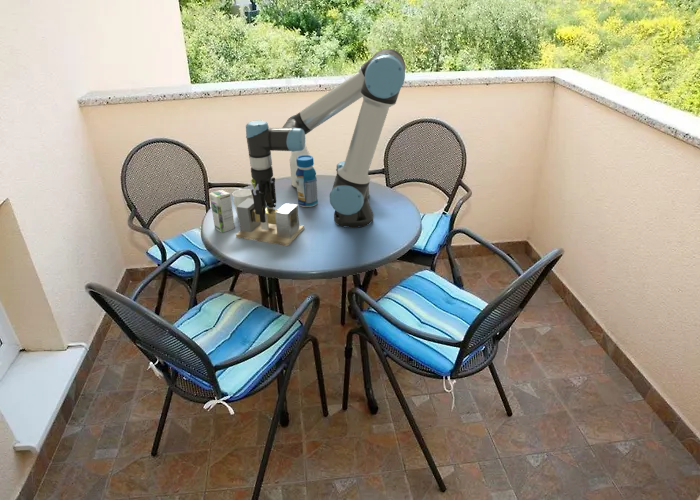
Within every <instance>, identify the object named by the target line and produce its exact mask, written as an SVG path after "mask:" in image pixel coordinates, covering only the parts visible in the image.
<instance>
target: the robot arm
mask: <svg viewBox="0 0 700 500" xmlns="http://www.w3.org/2000/svg"><path fill="white" fill-rule="evenodd" d="M405 78H406V63H405V59H404V57H403V56H402V55H401V54H400V53H399V52H398V51H397V50H394V49H391V48H383V49H381V50H379V51H377V52H376V53H375V54H374V55H373V56H372V57H371V58H369V59H368V60H367V61H366V62H364V64H362V65H360V66H359V69H358V71H357V72H356V73H355V74H353V75H351V76H350V77H349V78H347V79H345V80H344V81H343V82H341V83H340V84H338V85H337V86H335V87H334V88H332V89H331V90H329V91H328V92H327V93H325V94H324V95H322V96H321V97H319V98H318V99H316V100H315V101H313V102H312V103H311V104H309V105H308V106H306V107H305V108H304V109H302V110H300V112H298V113H296V114H294V115H291V116H290V117H289V118H288V119H287V120H286V122H285V123H284V124H283V126H282V127H270V126H269V125H268V122H267V121H266V120H261V119H260V120H252V121H249V122H247V123H246V125H245V132H246V134H245V135H246V137H245V138H246V143H247V149H248V150H247V151H248V159H249V165H250V166H249V167H250V174H251V179H254V180H255V189H254V188H253V189H250V190H251V193H252V195H253V200H254V207H255V213H256V214H258V215H260V222H261V229H264V230H269V225H268V224H269V223H268V216H267V213H266V208H269V209H274V208H276V207H277V205H276V204H277V195H276V185H275V184H276V178H275V177H274V169H273V161H272V152H274V151H276V152H278V151H280V152H281V151H282V152H292V151H293V152H294V151H302V150H303V149H304V147H305V144H306V135H307V134H309V133H310V132H312V131H313V130H314V129H316V128H317V127H319V126H320V125H322V124H323V123H325V122H327V121H328V120H329V119H331V118H333V117H334V116H335V115H337V114H338V113H340V112H341V111H344V110H345V109H346V108H348V107H349V106H350V105H352V104H354V103H355V102H357V101H359V100H360V99H362V103H361V106H360V110H359V113H358V116H357V119H356V123H355V126H354V130H353V134H352V137H351V139H350V143H349V147H348V150H347V153H346V156H345V160H344V161H340V162H338V163H337V164H336V169H335V171H336V175H335V178H334V181H333V186H332V188H331V190H330V193H329V203H330V204H329V205H331V207H332V208H333V210H334V212H333V221H334V223H335V224H336V225H338V226H341V227H344V228H348V229H349V228H350V229H351V228H353V229H355V228H362V227H365V226H368V225H370V224H371V223H372V222H373V220H374V213H373V210H372V207H371V204H370V201H369V195H368V185H369V184H370V182H371V178H370V176H369V172H370V171H369V170H370V168H371V165H372V161H373V160H374V159H373V158H374V155H375V152H376V149H377V147H378V144H379V140H380V138H381V137H380V136H381V134H382V131H383V127H384V124H385V121H386V119H387V115H388V112H389V110H390V108H391V107H393V106H395V105H396V104H397V101H398V97H399V95H400V91H401V88H402V87H403V86H404V84H405V83H404V82H405V80H406V79H405Z"/></svg>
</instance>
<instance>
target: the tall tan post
mask: <svg viewBox="0 0 700 500" xmlns="http://www.w3.org/2000/svg"><path fill="white" fill-rule="evenodd" d="M277 210H278V209H276V208H273V209H269V208H266V213H267V216H268V223H269V224H276V218H275V212H276V211H277ZM251 213H252V221H254V222H260V215H258V214H256V213H255V208H254V209H253V210H252V211H251ZM291 222H292V220H291V216H290V223H291Z"/></svg>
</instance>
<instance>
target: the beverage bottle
mask: <svg viewBox="0 0 700 500" xmlns="http://www.w3.org/2000/svg"><path fill="white" fill-rule="evenodd" d="M296 161H297V166H298V169H297V171H296V176H297V178H296V183H297V188H296V191H297V203H298V204H297V205H298V206H300V207H303V208H313V207H315V206H316V205H318V203H319V199H318V188H317V187H318V185H317V183H318V182H317V181H318V180H317V176H316V175H317V172H316V171H317V170H316V169H315V168H314V164H315V163H314V156H312V155H311V154H310V155H301V156H298V157H297V159H296Z"/></svg>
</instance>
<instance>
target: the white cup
mask: <svg viewBox="0 0 700 500" xmlns="http://www.w3.org/2000/svg"><path fill="white" fill-rule="evenodd" d="M251 190H252V189H249V188H241V189H236V190H234V191H233V192H232V193H231V194H232V200H233V204H234V208H235V212H236V216H237V217H236V218H238V212H237V206H238V205H240V204H241V203H242V202H244V201H245V200H246V199H247V198H251V199H253V195H252V193H251Z"/></svg>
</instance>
